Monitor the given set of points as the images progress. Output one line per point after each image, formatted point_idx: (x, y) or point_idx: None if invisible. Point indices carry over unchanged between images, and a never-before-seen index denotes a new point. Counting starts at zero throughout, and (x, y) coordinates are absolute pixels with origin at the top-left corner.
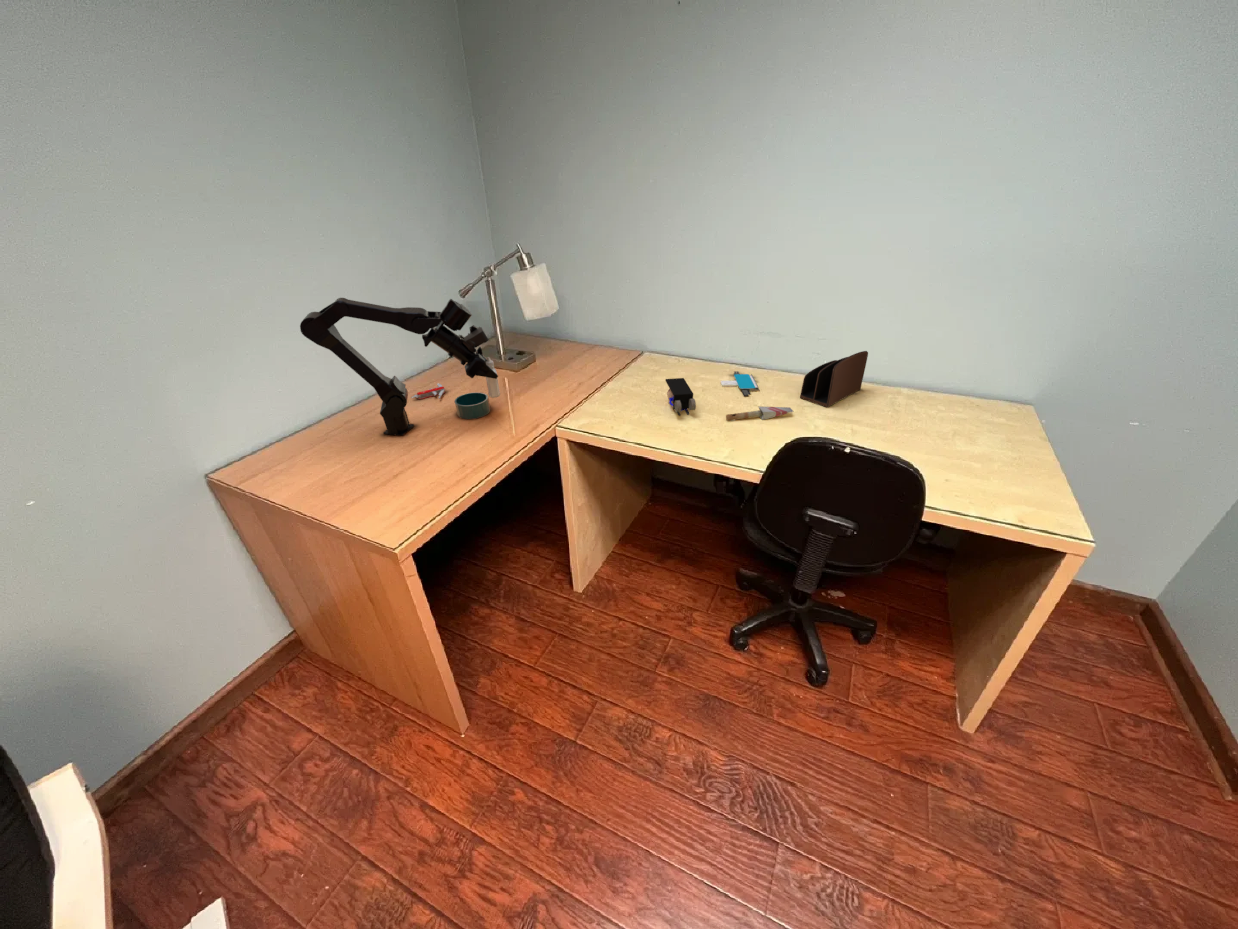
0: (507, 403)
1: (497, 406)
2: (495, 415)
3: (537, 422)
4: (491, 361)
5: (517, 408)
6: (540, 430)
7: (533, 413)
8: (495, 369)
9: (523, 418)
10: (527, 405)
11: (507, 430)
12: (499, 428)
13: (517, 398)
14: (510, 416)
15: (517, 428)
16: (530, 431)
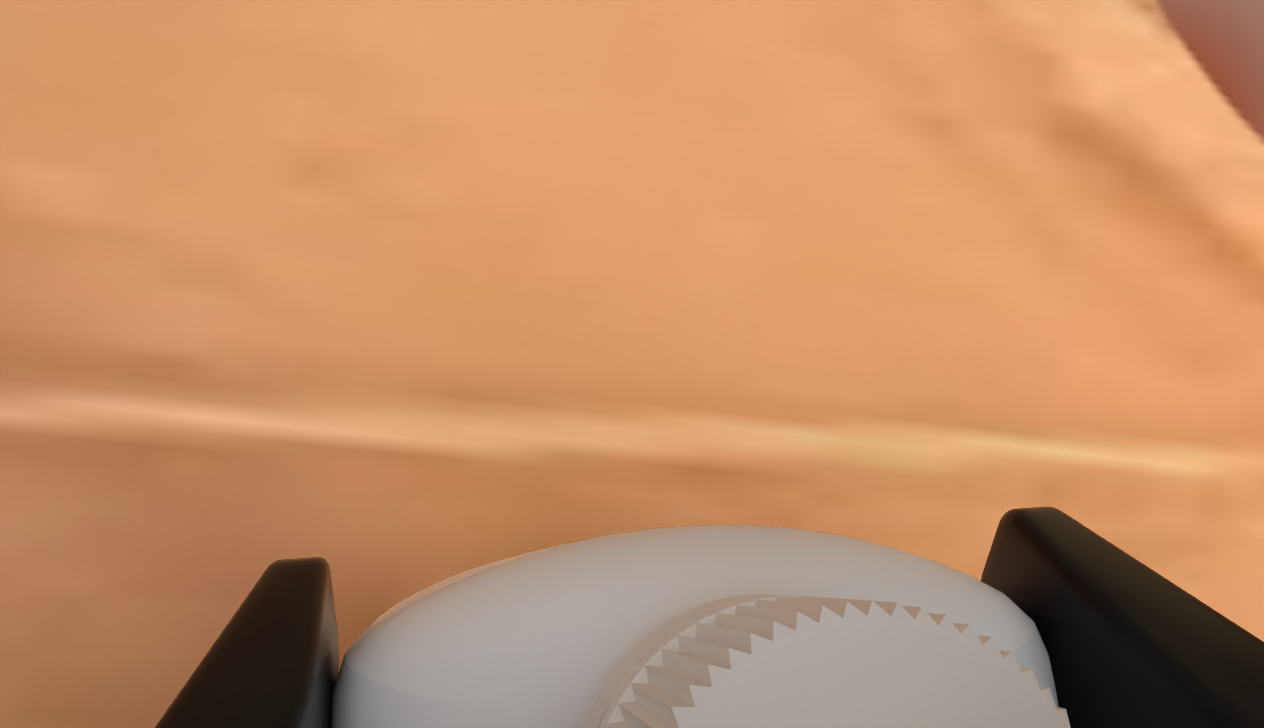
0: (184, 451)
1: None
2: None
3: (1001, 123)
4: (991, 718)
5: (453, 316)
6: (1221, 132)
7: (714, 120)
8: (742, 556)
9: (828, 281)
10: (400, 152)
11: (1120, 542)
12: None
13: (40, 261)
14: (702, 455)
15: (1098, 403)
16: (1217, 253)
